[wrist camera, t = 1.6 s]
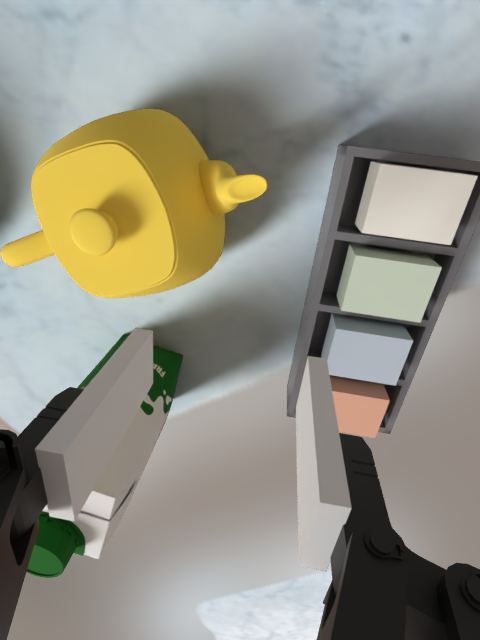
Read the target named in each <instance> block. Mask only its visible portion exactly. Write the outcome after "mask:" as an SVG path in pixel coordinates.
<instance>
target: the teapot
mask: <svg viewBox="0 0 480 640" xmlns="http://www.w3.org/2000/svg"><path fill="white" fill-rule="evenodd" d="M267 185H268V183H267V181H266V179H265V178H263V177H262V176H259V175H254V174H243V175H237V174H236V172H235V170H234V169H233V167H232V166H230V165H229V164H228V163H226V162H224V161H220V160H209V159H208V157H207V155H206V154H205V152H204V150H203V148H202V147H201V145H200V144H199V142H198V141H197V139H196V137H195V136H194V135H193V134H192V132H191V131H190V130H189V128H188V127H187V126H186V125H185V124H184V123H183V122H182V121H181V120H180V119H179V118H177V117H176V116H174V115H172V114H171V113H168V112H165V111H163V110H158V109H149V108H146V109H139V110H132V111H126V112H122V113H117V114H113V115H109V116H106V117H103V118H100V119H97V120H95V121H92V122H90V123H88V124H86V125H84V126H82V127H80V128H78V129H77V130H75V131H73V132H71V133H70V134H68V135H67V136H65V137H64V138H62V139H61V140H59V141H58V142H56V143H55V144H53V145H52V146H51V148H50V149H49V150H48V151H47V152H46V153H45V154H44V156H43V157H42V158H41V160H40V161H39V163H38V164H37V166H36V168H35V171H34V173H33V176H32V181H31V193H32V198H33V203H34V207H35V210H36V213H37V216H38V219H39V222H40V225H41V227H42V229H43V230H42V231H39V232H36V233H34V234H31V235H29V236H26V237H23V238H21V239H18V240H16V241H13V242H10V243H8V244H6V245H5V246H4V247H3V248H2V249H1V257H2V259H3V261H4V262H5V263H6V264H8V265H9V266H12V267H20V266H24V265H27V264H30V263H33V262H35V261H38V260H41V259H43V258H46V257H49V256H52V255H54V254H55V255H56V256H57V258H58V260H59V261H60V263H61V264H62V266H63V267H64V268H65V270H66V271H67V272H68V274H69V275H70V276H71V277H72V279H73V280H74V281H75V282H76V283H77V284H78V285H79V286H80V287H81V288H83V289H84V290H85V291H87V292H88V293H90V294H92V295H95V296H99V297H106V298H123V297H135V296H143V295H150V294H155V293H160V292H163V291H167V290H170V289H173V288H176V287H179V286H181V285H184V284H186V283H189V282H191V281H193V280H195V279H197V278H199V277H201V276H202V275H204V274H205V273H206V272H208V271H209V270H210V269H211V268H212V267H213V266H214V265H215V264H216V262H217V261H218V259H219V257H220V256H221V254H222V250H223V246H224V240H225V213H228V212H230V211H232V210H234V209H235V208H236V207H237V206H238V205H239V203H241V202H246V201H250V200H253V199H255V198H257V197H259V196H260V195H262V194H263V193H264V192H265V191H266V189H267Z"/></svg>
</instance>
